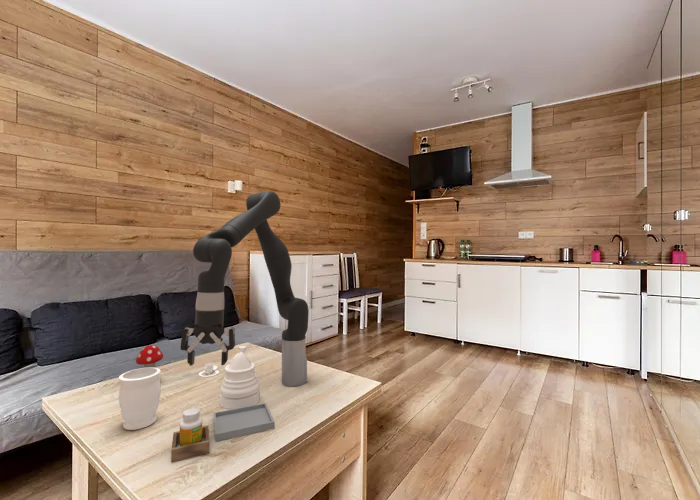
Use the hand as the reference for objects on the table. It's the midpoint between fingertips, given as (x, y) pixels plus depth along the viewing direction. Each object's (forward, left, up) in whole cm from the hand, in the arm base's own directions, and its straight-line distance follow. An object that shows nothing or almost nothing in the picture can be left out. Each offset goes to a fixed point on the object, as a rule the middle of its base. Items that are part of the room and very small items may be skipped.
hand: (207, 364), depth 94 cm
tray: (-10, 0, -19) cm, 22 cm away
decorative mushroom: (+19, -44, -20) cm, 52 cm away
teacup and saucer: (-5, -47, -20) cm, 52 cm away
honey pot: (-11, -16, -20) cm, 28 cm away
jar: (+18, -13, -20) cm, 30 cm away
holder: (+4, +7, -19) cm, 21 cm away
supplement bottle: (+4, +7, -20) cm, 21 cm away
